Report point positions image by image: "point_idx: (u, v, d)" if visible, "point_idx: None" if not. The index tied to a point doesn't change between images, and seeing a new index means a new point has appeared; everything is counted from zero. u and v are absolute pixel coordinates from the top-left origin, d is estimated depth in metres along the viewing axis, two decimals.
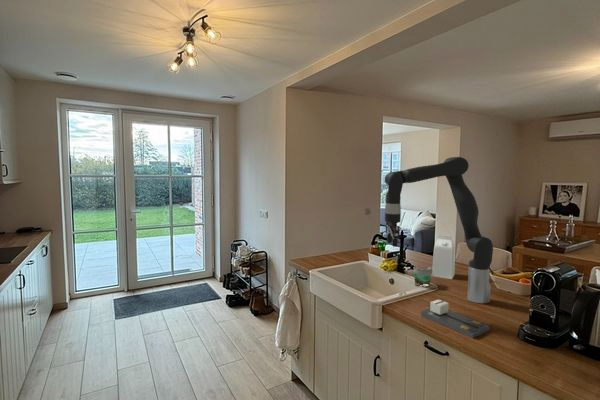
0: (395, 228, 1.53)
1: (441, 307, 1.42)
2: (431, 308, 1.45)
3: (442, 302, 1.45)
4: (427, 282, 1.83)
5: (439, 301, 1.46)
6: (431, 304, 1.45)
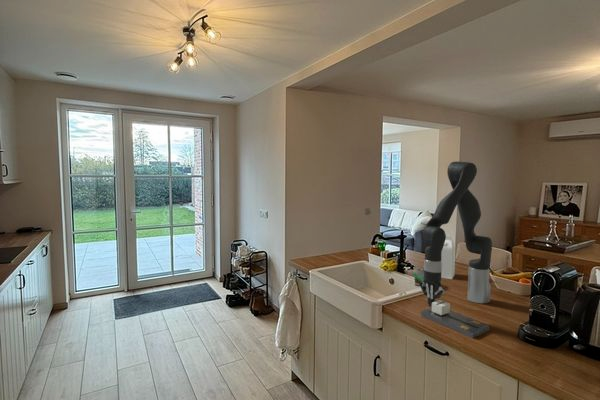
0: None
1: (442, 308, 1.41)
2: (432, 308, 1.44)
3: (443, 303, 1.44)
4: None
5: (440, 302, 1.45)
6: (432, 305, 1.44)
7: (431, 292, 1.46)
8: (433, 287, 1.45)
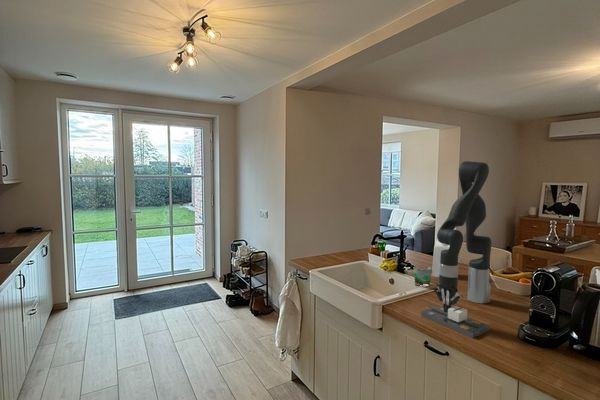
0: None
1: (460, 314, 1.34)
2: (449, 315, 1.38)
3: (460, 309, 1.38)
4: (427, 282, 1.83)
5: (457, 308, 1.39)
6: (449, 311, 1.38)
7: (447, 298, 1.39)
8: (449, 293, 1.39)
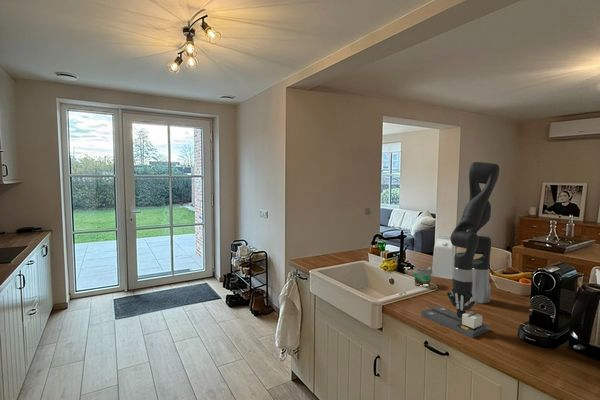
0: None
1: (475, 320, 1.29)
2: (463, 321, 1.32)
3: (475, 314, 1.32)
4: (427, 282, 1.83)
5: (471, 313, 1.33)
6: (463, 317, 1.32)
7: (461, 303, 1.34)
8: (464, 297, 1.33)
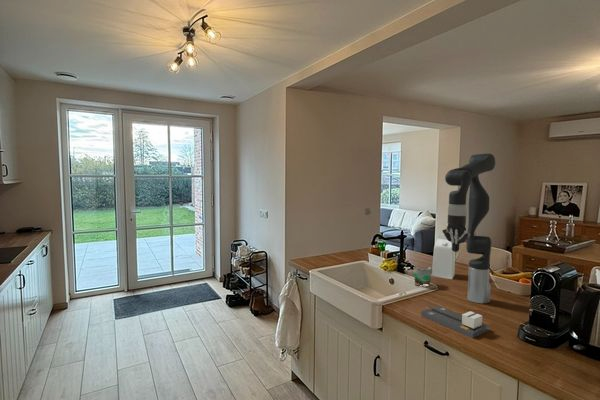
0: None
1: (475, 320, 1.29)
2: (463, 321, 1.32)
3: (475, 314, 1.32)
4: (427, 282, 1.83)
5: (471, 313, 1.33)
6: (463, 317, 1.32)
7: (456, 237, 1.45)
8: (458, 231, 1.44)
